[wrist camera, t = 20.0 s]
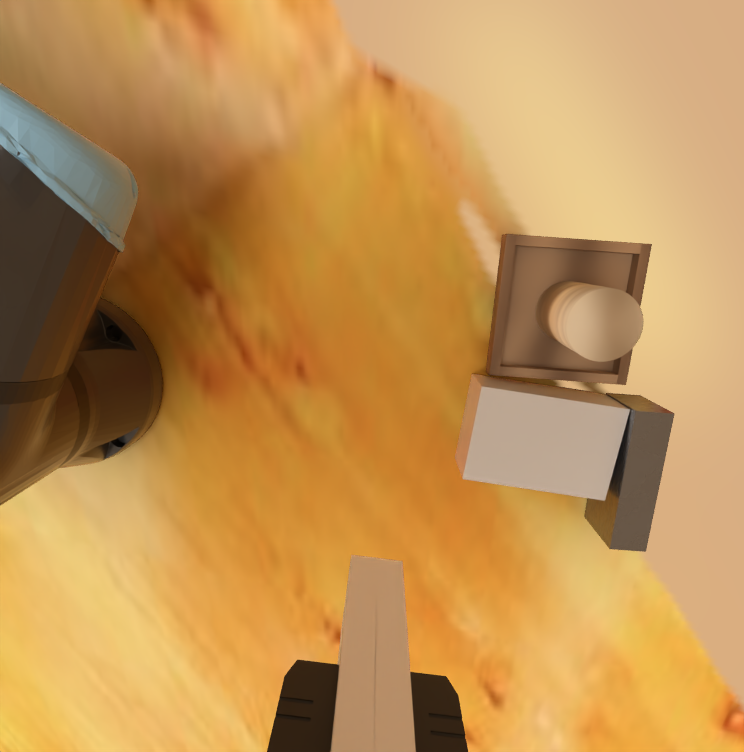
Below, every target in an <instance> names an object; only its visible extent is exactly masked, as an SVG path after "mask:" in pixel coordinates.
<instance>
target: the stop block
mask: <svg viewBox="0 0 744 752" xmlns="http://www.w3.org/2000/svg"><path fill="white" fill-rule="evenodd" d="M606 395H607V396H609V397H611V398H612V399H614V400H616V401H617V402H619V403H620V404H622V405H624V406H625V407H627V408H629V409H630V412H629V415H628V419H627V423H626V426H625V430H624V434H623V437H622V441H621V444H620V448H619V452H618V455H617V459H616V462H615V466H614V470H613V473H612V477H611V481H610V484H609V488H608V491H607V495H606V499H605V501H603V500H597V499H590V498H588V499H587V505H586V511H585V518H586V519H587V521H588V522H589V523H590V524H591V526H592V527H593V528H594V530H595V531H596V532H597V533H598V535H599V536H600V537H601V539H602V540H603V541H604V542H605V544H606V545H607V546H608V547H609V549H618V550H631V551H644V552H645V551H646V548H647V543H648V538H649V533H650V529H651V523H652V519H653V514H654V509H655V504H656V500H657V495H658V490H659V485H660V480H661V476H662V471H663V466H664V461H665V456H666V451H667V447H668V442H669V437H670V432H671V427H672V423H673V418H674V413H672V412H670V411H669V410H667V409H665V408H663V407H661V406H659V405H657V404H655V403H653V402H651V401H650V400H648V399H646V398H644V397H642V396H640V395H625V394H613V393H606Z"/></svg>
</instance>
